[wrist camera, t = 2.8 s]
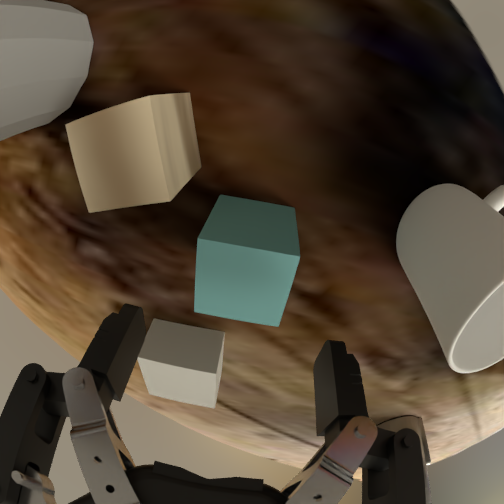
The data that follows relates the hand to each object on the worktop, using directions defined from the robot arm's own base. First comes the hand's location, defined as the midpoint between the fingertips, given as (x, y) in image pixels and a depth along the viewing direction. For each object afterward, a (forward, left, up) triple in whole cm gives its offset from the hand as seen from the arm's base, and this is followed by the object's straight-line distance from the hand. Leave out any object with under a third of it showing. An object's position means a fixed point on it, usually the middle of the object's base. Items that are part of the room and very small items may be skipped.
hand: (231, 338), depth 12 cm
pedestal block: (+4, +15, -10) cm, 18 cm away
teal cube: (0, 0, -10) cm, 10 cm away
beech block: (+7, -6, -10) cm, 13 cm away
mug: (-15, -5, -10) cm, 19 cm away
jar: (+17, -12, -10) cm, 23 cm away
